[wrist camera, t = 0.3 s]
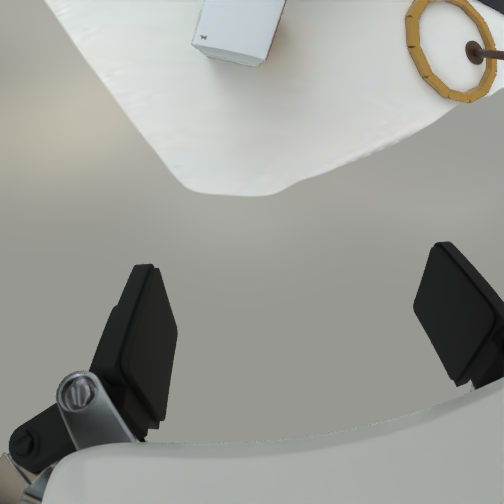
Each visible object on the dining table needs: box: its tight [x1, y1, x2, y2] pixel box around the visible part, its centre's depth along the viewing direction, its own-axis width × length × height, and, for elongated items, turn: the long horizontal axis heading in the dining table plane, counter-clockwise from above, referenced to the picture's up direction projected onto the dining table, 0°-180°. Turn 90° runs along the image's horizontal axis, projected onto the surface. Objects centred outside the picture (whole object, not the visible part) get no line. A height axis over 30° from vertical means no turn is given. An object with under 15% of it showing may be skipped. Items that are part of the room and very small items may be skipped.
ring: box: [405, 0, 497, 103], centre depth 27 cm, size 18×18×1 cm
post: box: [466, 41, 504, 65], centre depth 24 cm, size 4×4×9 cm
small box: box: [191, 0, 286, 68], centre depth 23 cm, size 8×6×13 cm
